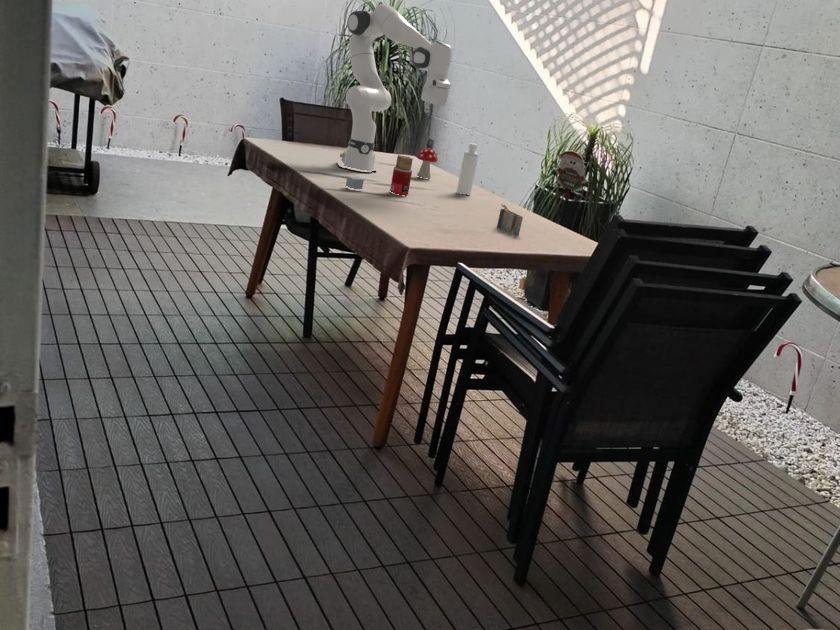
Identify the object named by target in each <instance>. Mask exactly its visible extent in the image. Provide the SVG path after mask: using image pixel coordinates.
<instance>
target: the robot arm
mask: <svg viewBox="0 0 840 630" xmlns="http://www.w3.org/2000/svg"><path fill="white" fill-rule="evenodd" d="M346 25H347V29H348V31H349V32H350V33H351V34H352V35H351V36H350V37H349V45H348V46H349V57H350V58H349V59H350V64H351V70H352V75H353V77H354V78H355V79H356V80H357V81H358V83H359V84H360V85H354V86H351V87H349V88H348V90H346V94H345V102H346V104H347V105H348V107H349V109H350V111H351V115H352V127H351V134H350V138H349V141H348V144H347V145H348V146H347V147H346V148H345V150H344V151H343V152H340V154H339V158H341V161H342V162H343V163H344V166H347V167H351V168H356V169H360V170H367V171H372V170H374V169H375V164H376V163H375V162H376V153H374V150H375V145H376V144H375V138H376V133H377V132H376V131H377V124H376V122H375V121H374V120H373V116H372V115H373V114H372V112H382V111H386V110H388V109H389V107H390V106H391V104H392V95H391V93H390V92H389V90H387V89H386V88H385V86H384V84H383V82H382V81H381V78H380V76H379V73H378V70H377V65H376V60H375V54H374V48H373V43H374V42H380V41H381V40H382V39H384V38H388V39H389V40H390V41H392V42H394V43H397V44H399V45H404V46H408V47H411V48H413V49H415V50H414V51H413V53H412V55H411V60H412V61H411V62H412V64H413V67H415V68H416V69H417V70H420V71H426V72H427V73H426V79H425V83H424V84H423V87H422V92H421V97H420V98H421V100H422V101H424V113H426V114H429V113H430V105H431V104H432V105H433V106H434V109H433V110H432V114H431V115H432V116H433V117H438V113H439V111H440V109H441V107H445V106H446V104H447V101H448V96H449V90H450V89H451V86H452V85H451V83H450V81H449V78H448V77H449V69H450V67H451V62H452V56H453V55H452V54H453V52H452V51H453V49H452V46H451V45H450V44H448V43H447V42H445V41H444V42H443V41H440V40H435V41H433V43H432V42H431V41H430V40H429V39H428V38H427V37H425V36H424V35H423V34H422V33H420V32H419V30H417V28H415V27H413V25H411V23H410V22H408V20H406V19H405V17H404V16H403V15H401V13H399V11H397V10H396V9H395V8H394V7H392V6H391V5H390V4H387V3H381V4H379V5H378V6H376V7H375V9H374V10H373V11H367V10H355V11H352V12H351V13H350V14H349V15H348V18H347V23H346Z"/></svg>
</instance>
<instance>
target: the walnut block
mask: <svg viewBox="0 0 840 630" xmlns="http://www.w3.org/2000/svg"><path fill="white" fill-rule="evenodd" d="M396 157H397V159H396V163H395V167H397V168H399V169H402V170H410V171H411V170H412V165H413V159H414V158H412V157H410V156H409V155H408V156H407V155H402V154H401V155H400V154H398V155H397V156H396Z"/></svg>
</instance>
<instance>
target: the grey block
mask: <svg viewBox="0 0 840 630" xmlns="http://www.w3.org/2000/svg"><path fill="white" fill-rule="evenodd" d="M364 182H365V180H364V179H363V178H360V177H358V176H346V182H345V187H346V186H348V187H350V188H354V189H362V190H363V186H364Z"/></svg>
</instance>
